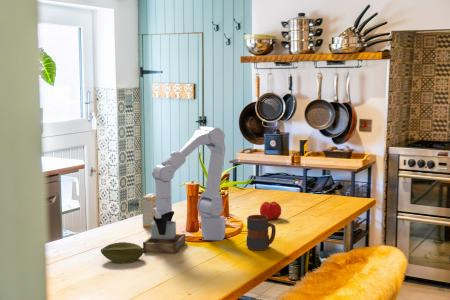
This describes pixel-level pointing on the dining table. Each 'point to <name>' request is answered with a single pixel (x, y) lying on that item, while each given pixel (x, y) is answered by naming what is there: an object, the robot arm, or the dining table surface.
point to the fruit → (122, 252)
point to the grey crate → (169, 231)
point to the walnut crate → (164, 245)
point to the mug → (259, 232)
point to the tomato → (270, 210)
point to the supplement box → (148, 209)
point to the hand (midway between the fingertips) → (164, 232)
